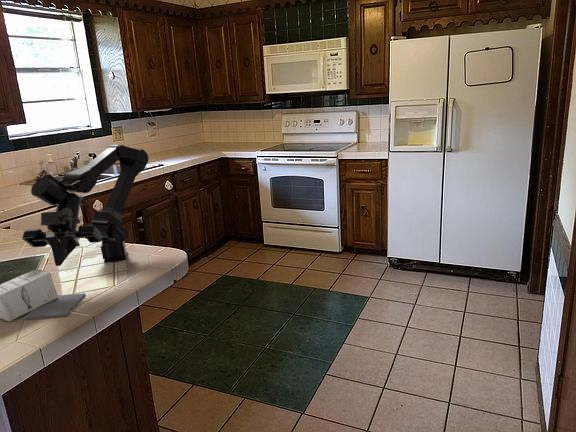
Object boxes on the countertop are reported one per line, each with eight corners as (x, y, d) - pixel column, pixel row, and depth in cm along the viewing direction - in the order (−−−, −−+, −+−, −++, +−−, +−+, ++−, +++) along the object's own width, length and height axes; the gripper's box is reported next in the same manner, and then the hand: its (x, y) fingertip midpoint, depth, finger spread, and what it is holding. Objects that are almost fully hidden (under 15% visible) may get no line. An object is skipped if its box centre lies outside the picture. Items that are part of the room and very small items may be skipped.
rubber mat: (47, 298, 116) (46, 296, 116) (85, 295, 116) (85, 293, 116) (25, 319, 105) (24, 317, 105) (67, 316, 105) (66, 313, 105)
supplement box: (60, 297, 114) (9, 323, 104) (45, 292, 118) (-5, 316, 108) (51, 271, 111) (-2, 295, 102) (36, 267, 115) (-16, 290, 106)
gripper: (16, 201, 115) (3, 256, 107) (88, 195, 115) (80, 249, 107) (39, 221, 124) (28, 272, 117) (105, 215, 125) (98, 266, 117)
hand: (57, 265), depth 114 cm, fingers closed
